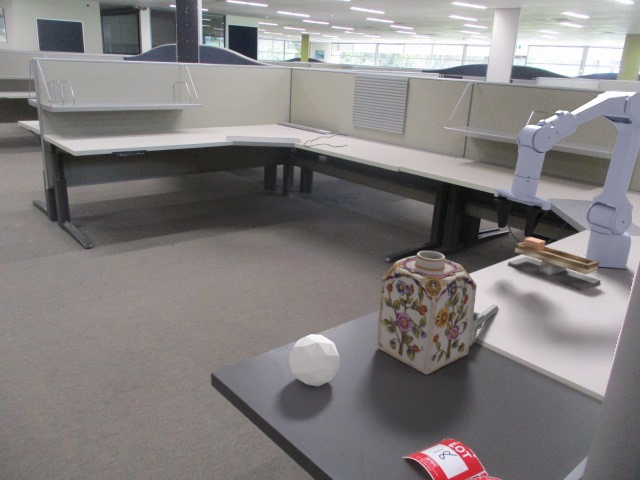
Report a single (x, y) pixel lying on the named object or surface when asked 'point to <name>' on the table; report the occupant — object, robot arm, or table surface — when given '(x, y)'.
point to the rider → (534, 243)
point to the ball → (314, 360)
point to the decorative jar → (426, 311)
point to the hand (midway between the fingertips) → (514, 231)
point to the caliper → (480, 321)
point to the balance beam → (557, 266)
